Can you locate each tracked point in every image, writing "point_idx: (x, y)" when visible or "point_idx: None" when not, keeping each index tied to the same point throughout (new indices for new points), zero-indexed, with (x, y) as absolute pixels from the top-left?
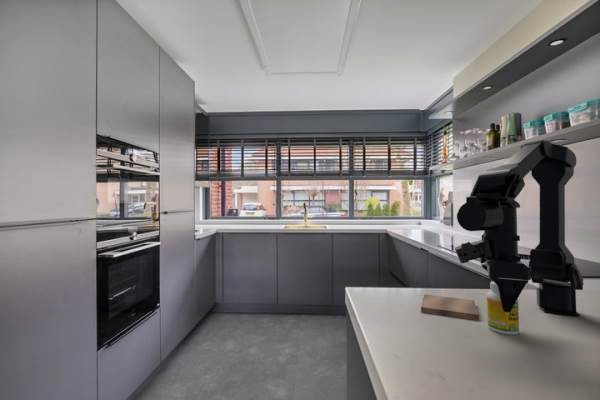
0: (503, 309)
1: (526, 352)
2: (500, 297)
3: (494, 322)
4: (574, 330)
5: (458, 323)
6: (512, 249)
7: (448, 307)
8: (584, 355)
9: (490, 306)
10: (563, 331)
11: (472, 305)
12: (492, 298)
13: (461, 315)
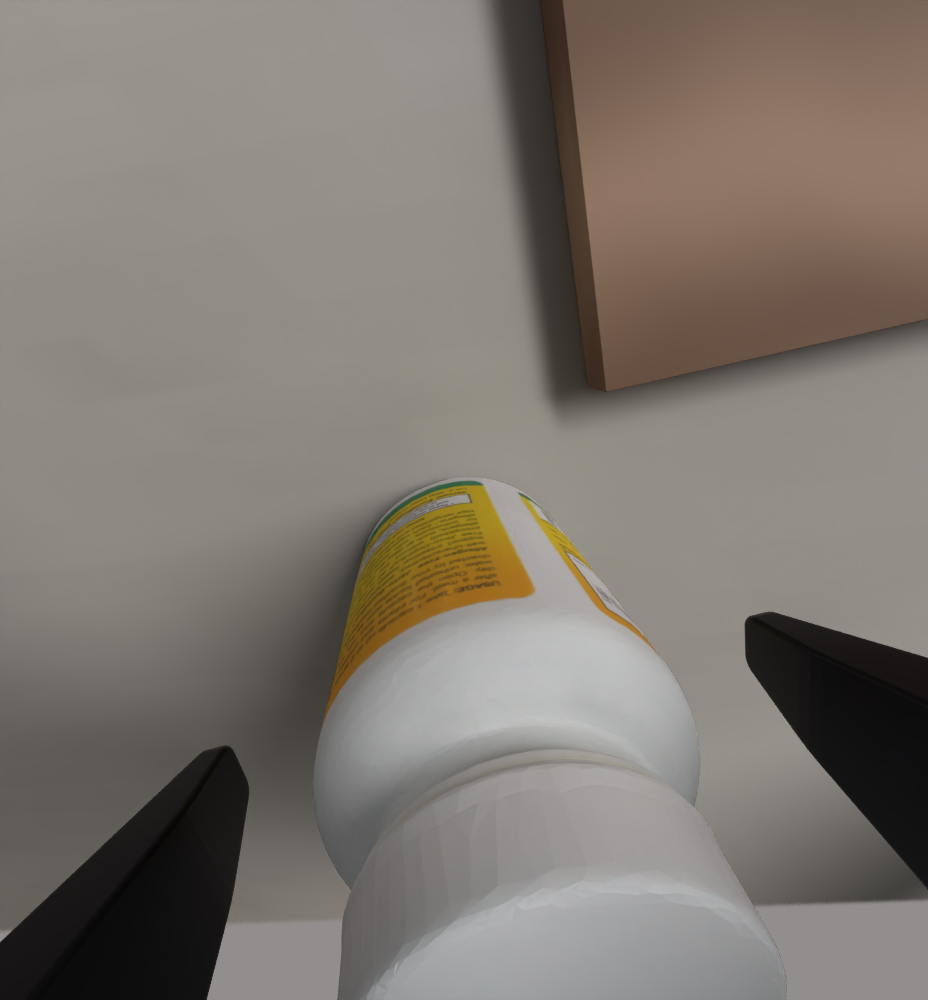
0: (189, 768)
1: (133, 713)
2: (7, 935)
3: (366, 559)
4: None
5: (379, 237)
6: None
7: (700, 38)
8: (335, 894)
9: (378, 598)
10: None
11: (901, 293)
12: (341, 700)
13: (574, 232)
